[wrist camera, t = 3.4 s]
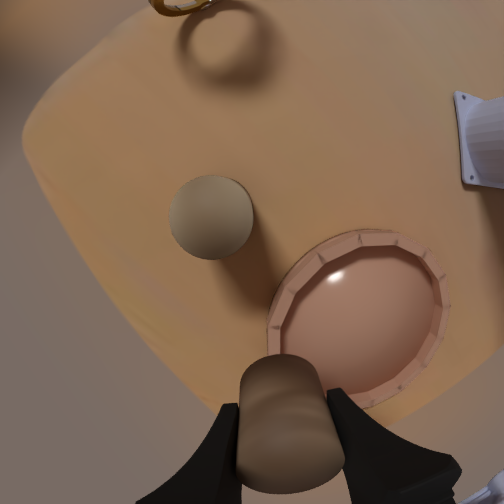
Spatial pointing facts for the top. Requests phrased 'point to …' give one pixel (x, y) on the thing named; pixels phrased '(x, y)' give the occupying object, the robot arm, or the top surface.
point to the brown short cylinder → (285, 428)
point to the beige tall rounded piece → (211, 217)
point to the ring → (180, 7)
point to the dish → (362, 312)
